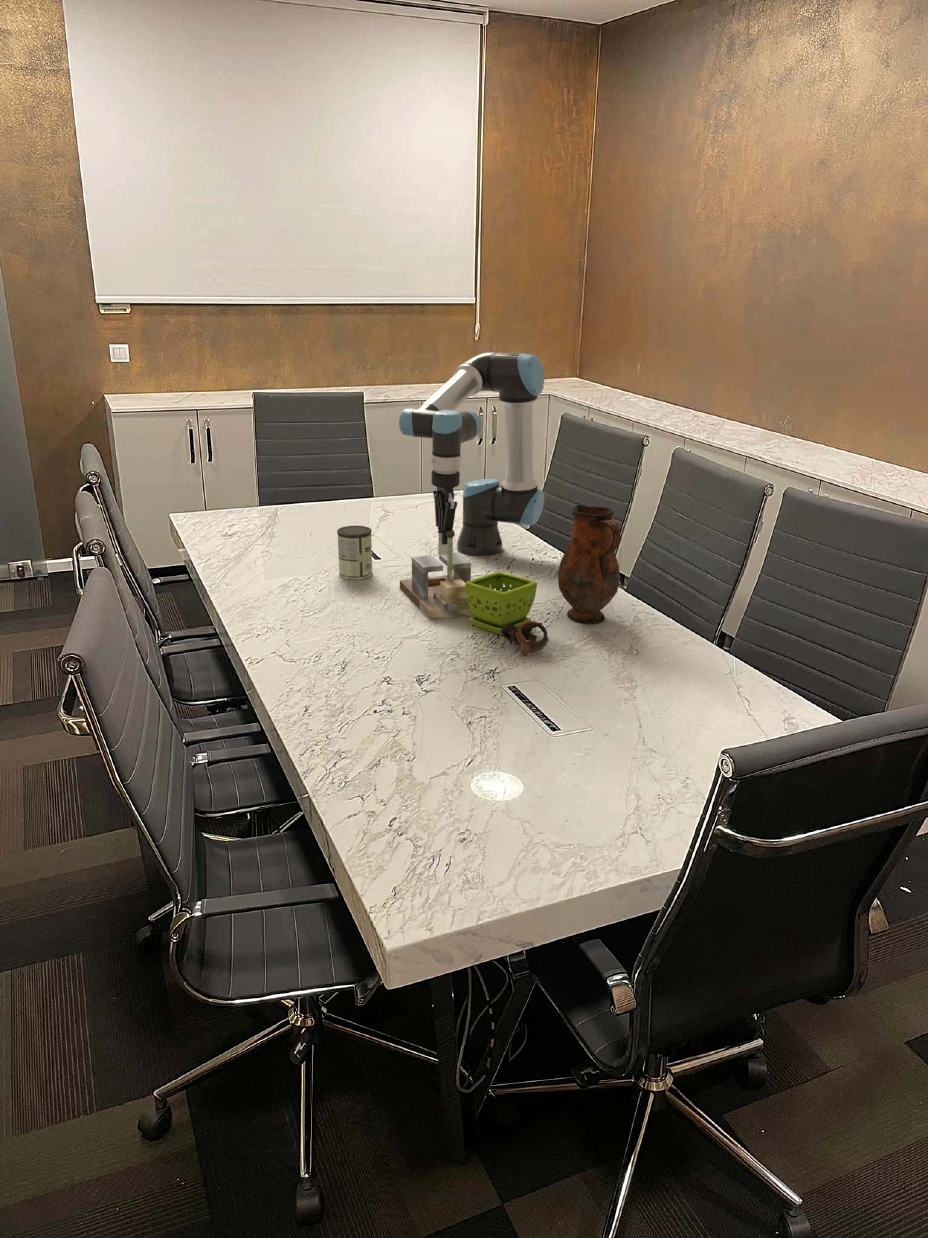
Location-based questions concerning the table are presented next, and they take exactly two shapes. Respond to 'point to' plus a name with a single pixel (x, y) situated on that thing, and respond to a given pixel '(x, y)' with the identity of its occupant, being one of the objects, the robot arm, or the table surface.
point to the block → (453, 590)
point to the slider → (437, 597)
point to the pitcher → (590, 564)
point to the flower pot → (500, 600)
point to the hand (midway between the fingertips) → (443, 554)
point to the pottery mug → (525, 636)
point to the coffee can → (355, 552)
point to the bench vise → (434, 584)
